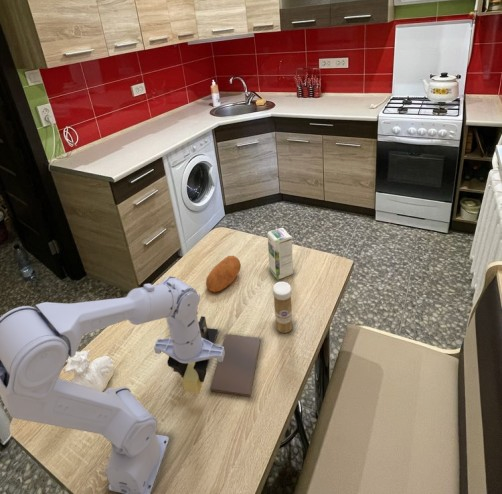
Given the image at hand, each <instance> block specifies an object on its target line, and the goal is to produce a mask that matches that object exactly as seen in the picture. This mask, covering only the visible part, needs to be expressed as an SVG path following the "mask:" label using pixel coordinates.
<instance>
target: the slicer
mask: <svg viewBox="0 0 502 494" xmlns="http://www.w3.org/2000/svg"><path fill="white" fill-rule="evenodd" d="M198 322H199V328H200V333H201V337H202V338H204V339H206V340H208V341H210V342H212V343H214V344H215V343H216V340H217V337H218V335H219V334H218V333H219V329H218V328H210V327H208V326H207V325H208V324H207V320H206V316H203V315H202V316H200V319H199V320H198ZM210 360H211V359H209V361H208V364H207V367H206V369H207V368H208V366H209V363H210Z"/></svg>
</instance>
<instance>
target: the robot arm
mask: <svg viewBox="0 0 502 494" xmlns="http://www.w3.org/2000/svg"><path fill="white" fill-rule="evenodd" d="M200 301H201V294H200V293H198V292H197V290H196V289H195V288H194V287H193V286H190V285H189V284H187V283H186V282H185V281H183V280H182V279H180V278H178V277H176V276H167V277H165V278H164V279H163V280H161V282H160V283H156V284H152V283H144V284H143V286H142V287H136V288H132V289H131V290H129V292H128V293H127V294H126V296H124V297H118V298H108V299H98V300H90V301H82V302H72V303H64V302H63V303H62V302H49V301H45V302H40V303H37V304H35V306H36V307H34V306H31V305H22V306H18V307H15V308H12V309H10V310H9V311H7V312H5V313H4V314H3V315H1V316H0V398H1V401H2V403H3V404H4V407H5V408H6V410H7V412H8V415H9V416H10V418H13V419H15V420H20V421H21V420H22V421H27V422H32V423H36V424H37V423H38V424H43V425H48V426H54V427H59V428H65V429H70V430H76V431H81V432H87V433H93V434H98V435H101V436H102V437H104V438H105V439H106V440H107V441H109V442H110V443H111V449H110V456H109V459H108V462H107V465H106V467H105V469H104V475H105V477H106V479H107V481H108V488H107V489H108V490H109V491H111V492H115V493H119V494H151V493H152V491H153V487H154V485H155V482H156V478H157V476H158V474H159V470H160V468H161V464H162V462H163V458H164V455H165V453H166V450H167V447H168V444H169V441H170V438H169V436H167V435H161V434H157V429H158V419H157V417H155V415H153V414H151V413H150V411H148V410H147V409H146V407H145V406H144V405H143V404H142V403H141V402H140V401H139V400H138V399H137V398H136V396H135V395H134V394H133V393H132V391H131V389H130V388H129V387H127V386H120V387H118V388H111V387H108V388H106V390H104V391H98V390H95V389H92V388H89V387H86V386H82V385H79V384H76V383H73V382H70V380H66V379H62V378H59V377H60V376H61V373H62V371H63V368H64V367H65V364H66V363H67V359H68V356H69V357H71V358H72V357H73V356H74V355H75V354H76V352H78V348H79V346H80V344H81V342H82V339H83V338H84V336H85V335H87V334H89V333H92V332H95V331H98V330H101V329H102V330H103V329H104V328H105V329H106V328H107V327H110V326H111V327H112V326H114V325H117V324H120V323H122V322H126V321H128V323H130V324H132V325H134V326H138V325H139V326H140V325H143V324H147V323H150V322H154V321H158V320H162V319H165V320H166V323H167V328H168V331H169V336H170V337H168V338H157V339H156V342H155V344H154V346H153V349H154V353H155V354H159V355H160V354H161V353H163V354H165V355H167V356H168V358H167V363H166V364H167V366H168V367H170V368H172V369H173V368H174V369H175V370H176V371H177V372H176V373H178V374H179V375H180V377H181V378H182V379H183V377H184V374H185V371H186V369H187V366H188V363H192V362H195V365H194V370H196V372H197V373H198V377H199V380H200V382H203V383H204V382H205V380H206V379H205V378H206V375H207V368H208V366H207V364H208V365H209V363H208V361H209V362H210V360H212V359H216V360H217V362H218V361H219V362H223V359H224V355H225V351H224V347H223V345H217V344H214V343H212V342H210V341H208V340H206V339H204V338H202V337H201V333H200V328H199V323H198V322H199V318H198V314H199V313H198V308H199V304H200ZM209 359H210V360H209ZM206 367H207V368H206Z"/></svg>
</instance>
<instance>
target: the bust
mask: <svg viewBox="0 0 502 494" xmlns="http://www.w3.org/2000/svg"><path fill="white" fill-rule="evenodd" d="M90 352H91V351H90V349H88V350H82V351H76V354H75V355H74V356H73V357H72V358H71V357H70V356H69V357H67V359H66V366H65V369H64V372H65V373H69V374H70V375H71V374H72V372H73V377H72V378H71V380H69V382H73V383H76V384H79V385H82V386H86V387H89V388H92V389H95V390H98V391H102V392H104V391H105V389H107V387H108V384H109V382H110V380H111V379H112V377H113V375H114V373H115V365H114V361H113V359H112V358H111V356H109V355H103V356H100V357H97V358H94V359H92V361H90V359H89V358H88V357H91V354H90Z"/></svg>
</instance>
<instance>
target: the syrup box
mask: <svg viewBox="0 0 502 494" xmlns="http://www.w3.org/2000/svg"><path fill="white" fill-rule="evenodd" d="M266 234H267V248H268V249H267V250H268V265H269V266H268V267H269V271H270V273H271V274H272V275H273V276H274V278H275V279H276V280H277V281H279V280H282V279H284V278H287V277H288V276H291V275H293V274H294V265H293V263H294V262H293V260H294V259H293V236H292V235H291V234H290V233H289V232H288V231H287V230H286V229H285V228H284V227H279V228H276V229H273V230H270V231H268V232H267V233H266Z"/></svg>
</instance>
